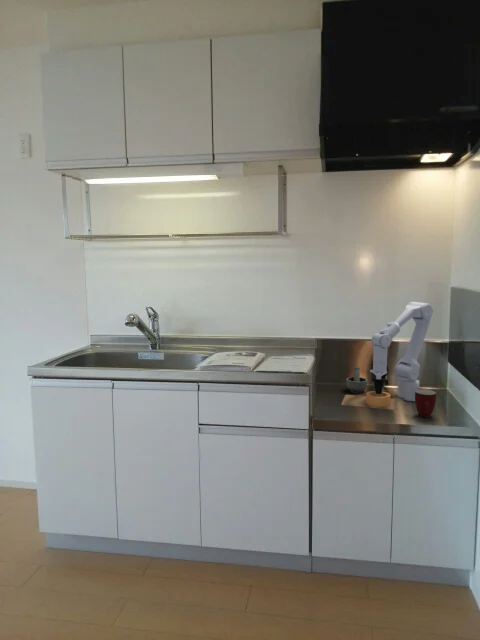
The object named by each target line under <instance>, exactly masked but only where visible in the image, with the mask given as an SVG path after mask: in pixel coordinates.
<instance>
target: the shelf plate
mask: <svg viewBox="0 0 480 640" xmlns="http://www.w3.org/2000/svg"><path fill="white" fill-rule="evenodd" d="M376 396H377V397H381V395H376ZM396 401H397V399H396V398H392V397H391V400H390V405H389V406H387V407H375V406H371V405H368V404H367V403H366V395H357V394H356V395H354V394H345V395H344V397H343V400H342V402H341V404H340V405H341V406H350V407H359V408H371V409H380V410H381V409H384V410H391V411H393V410H394V411H395V409H396Z"/></svg>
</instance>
